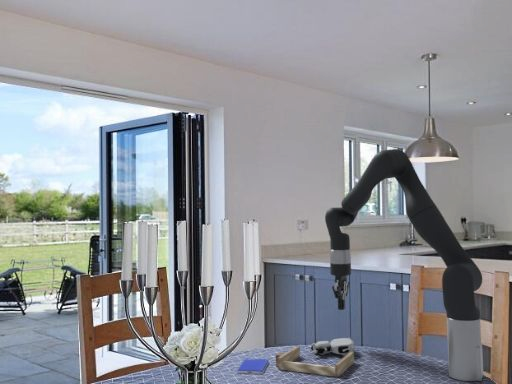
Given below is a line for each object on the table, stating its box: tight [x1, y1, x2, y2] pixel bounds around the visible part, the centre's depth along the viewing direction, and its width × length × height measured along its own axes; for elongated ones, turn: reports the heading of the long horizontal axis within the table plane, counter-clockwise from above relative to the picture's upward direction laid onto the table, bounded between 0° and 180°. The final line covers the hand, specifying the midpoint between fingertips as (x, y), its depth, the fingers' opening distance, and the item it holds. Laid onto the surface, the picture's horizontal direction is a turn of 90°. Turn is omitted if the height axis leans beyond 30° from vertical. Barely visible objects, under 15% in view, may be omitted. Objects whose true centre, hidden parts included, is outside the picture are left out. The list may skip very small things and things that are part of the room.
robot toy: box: [310, 337, 356, 357], centre depth 185 cm, size 12×4×15 cm
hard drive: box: [236, 358, 270, 375], centre depth 171 cm, size 2×8×12 cm
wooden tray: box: [275, 345, 355, 378], centre depth 172 cm, size 22×16×4 cm
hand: (341, 309), depth 195 cm, fingers closed
